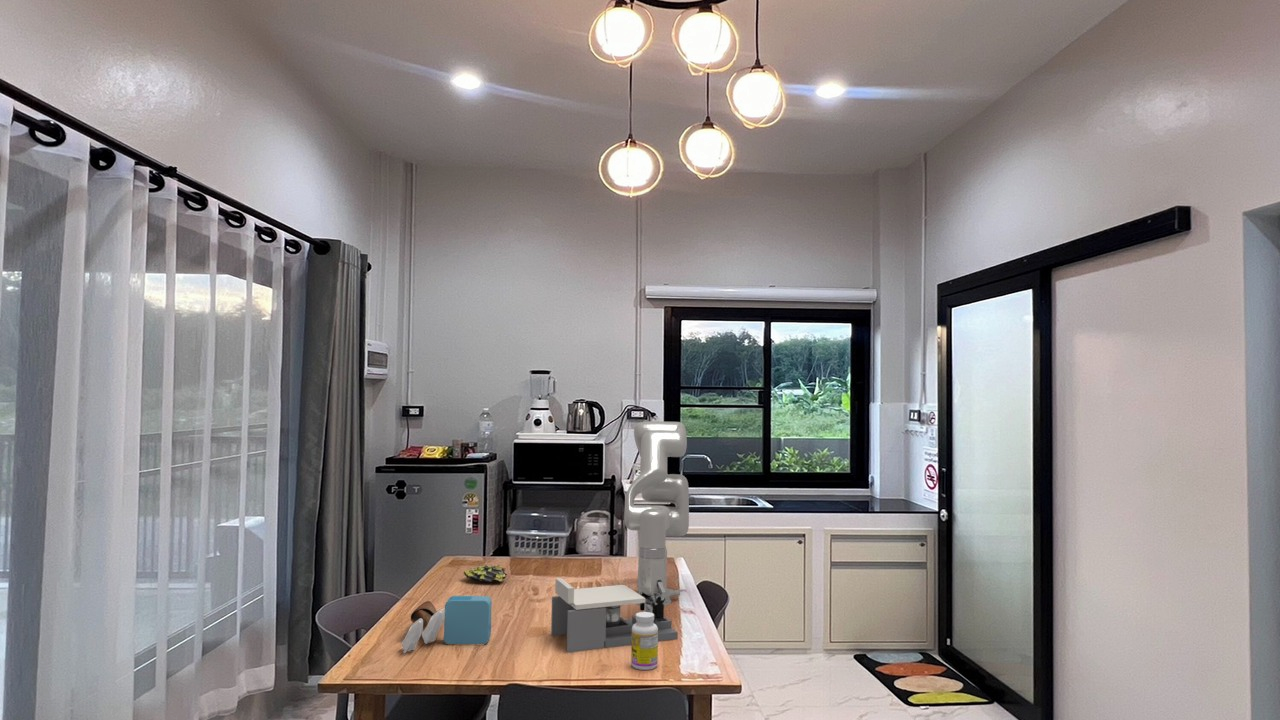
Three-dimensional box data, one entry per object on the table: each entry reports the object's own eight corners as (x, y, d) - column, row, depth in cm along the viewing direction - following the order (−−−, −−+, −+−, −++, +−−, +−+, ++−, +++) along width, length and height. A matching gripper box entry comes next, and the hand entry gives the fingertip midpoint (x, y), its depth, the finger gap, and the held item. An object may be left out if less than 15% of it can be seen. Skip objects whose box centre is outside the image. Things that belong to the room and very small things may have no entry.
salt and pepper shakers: (429, 630, 205) (448, 601, 202) (438, 642, 203) (457, 612, 200) (395, 642, 195) (414, 611, 192) (404, 654, 193) (423, 623, 190)
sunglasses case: (435, 634, 203) (437, 609, 204) (409, 634, 202) (410, 609, 203) (443, 623, 220) (444, 599, 221) (418, 623, 219) (420, 599, 220)
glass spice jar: (616, 626, 212) (617, 600, 212) (622, 631, 208) (622, 604, 208) (602, 628, 210) (602, 601, 211) (607, 633, 206) (608, 605, 207)
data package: (490, 639, 206) (491, 595, 206) (488, 645, 201) (489, 600, 202) (446, 640, 205) (448, 595, 206) (443, 645, 200) (444, 600, 201)
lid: (623, 588, 220) (624, 570, 220) (645, 602, 205) (645, 583, 205) (553, 595, 211) (553, 576, 211) (570, 610, 196) (570, 590, 197)
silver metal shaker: (641, 624, 215) (642, 597, 215) (655, 622, 217) (656, 596, 217) (647, 628, 211) (648, 601, 211) (661, 627, 213) (662, 600, 213)
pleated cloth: (475, 573, 287) (480, 556, 288) (515, 585, 284) (520, 568, 286) (457, 575, 268) (462, 557, 269) (499, 588, 265) (504, 570, 266)
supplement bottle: (630, 661, 190) (630, 610, 191) (656, 661, 190) (656, 610, 191) (632, 671, 183) (632, 618, 184) (658, 670, 184) (659, 618, 184)
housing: (654, 623, 223) (654, 586, 223) (677, 639, 208) (678, 600, 209) (551, 634, 210) (551, 596, 211) (568, 652, 196) (568, 611, 196)
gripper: (629, 548, 222) (628, 607, 221) (652, 560, 206) (651, 624, 205) (652, 546, 224) (651, 605, 223) (677, 558, 208) (676, 621, 207)
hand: (651, 613), depth 214 cm, fingers open, 8 cm apart
